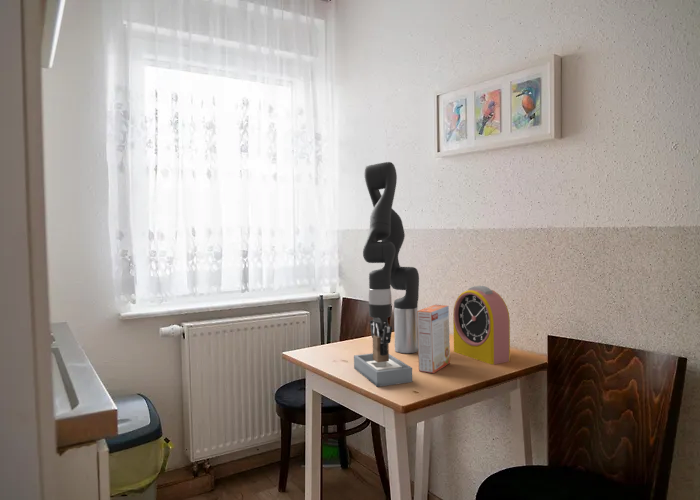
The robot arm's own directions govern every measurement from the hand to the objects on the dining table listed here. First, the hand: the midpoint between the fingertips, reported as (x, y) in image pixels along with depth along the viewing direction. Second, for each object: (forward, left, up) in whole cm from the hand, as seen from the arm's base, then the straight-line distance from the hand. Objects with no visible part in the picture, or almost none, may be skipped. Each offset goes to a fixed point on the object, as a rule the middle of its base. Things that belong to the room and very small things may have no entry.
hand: (380, 353), depth 156 cm
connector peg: (0, 0, -2) cm, 2 cm away
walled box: (0, 0, -7) cm, 7 cm away
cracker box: (-20, -1, -7) cm, 21 cm away
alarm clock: (-43, -7, -7) cm, 44 cm away
